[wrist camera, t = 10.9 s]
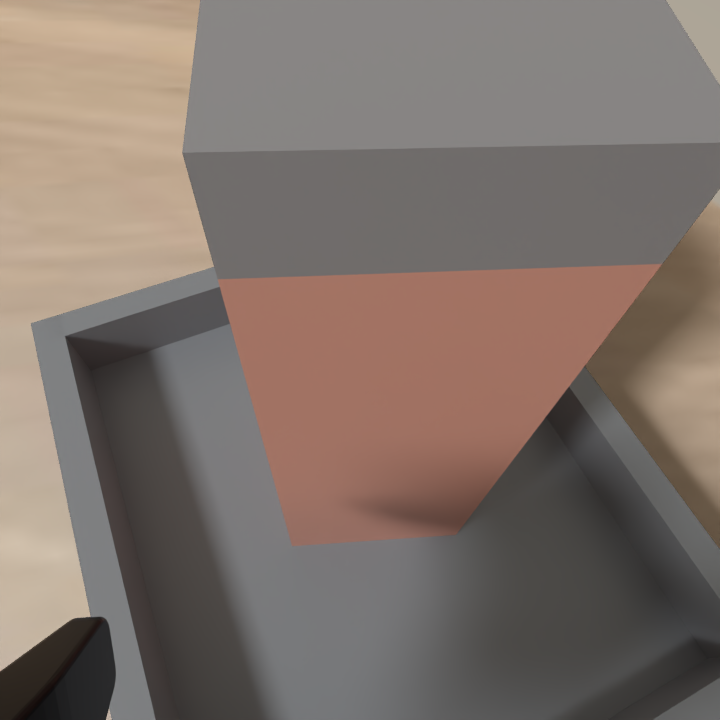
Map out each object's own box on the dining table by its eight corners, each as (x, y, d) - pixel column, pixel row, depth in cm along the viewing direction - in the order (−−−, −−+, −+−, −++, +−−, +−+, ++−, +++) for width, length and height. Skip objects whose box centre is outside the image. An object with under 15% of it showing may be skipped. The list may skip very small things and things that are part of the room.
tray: (734, 677, 15) (811, 674, 13) (216, 1003, 12) (186, 1083, 9) (442, 247, 22) (456, 192, 20) (69, 371, 19) (30, 323, 16)
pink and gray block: (455, 534, 16) (755, 142, 5) (291, 546, 15) (182, 152, 4) (432, 390, 18) (595, -111, 7) (289, 397, 18) (214, -117, 6)
